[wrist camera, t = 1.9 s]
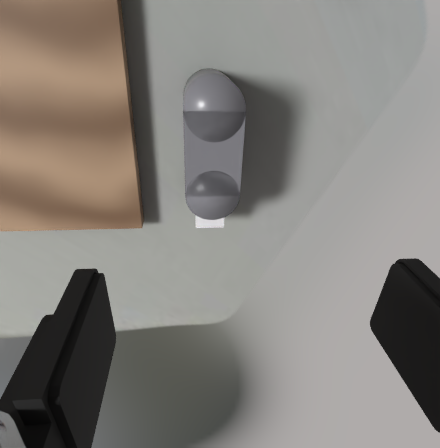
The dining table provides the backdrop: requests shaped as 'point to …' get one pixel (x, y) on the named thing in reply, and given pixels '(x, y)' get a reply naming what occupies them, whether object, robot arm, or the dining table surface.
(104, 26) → the walnut board
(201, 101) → the block
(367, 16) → the dining table surface
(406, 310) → the robot arm
